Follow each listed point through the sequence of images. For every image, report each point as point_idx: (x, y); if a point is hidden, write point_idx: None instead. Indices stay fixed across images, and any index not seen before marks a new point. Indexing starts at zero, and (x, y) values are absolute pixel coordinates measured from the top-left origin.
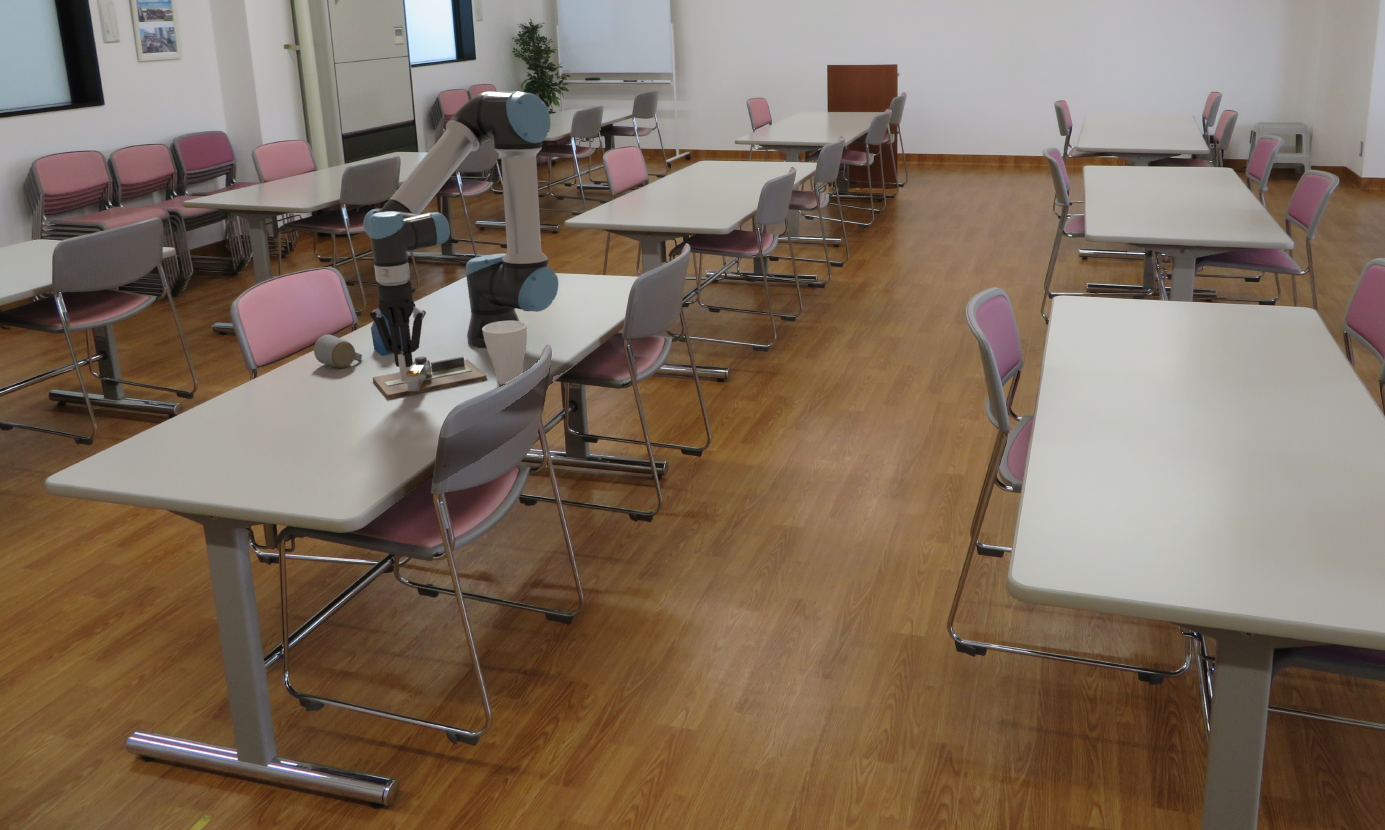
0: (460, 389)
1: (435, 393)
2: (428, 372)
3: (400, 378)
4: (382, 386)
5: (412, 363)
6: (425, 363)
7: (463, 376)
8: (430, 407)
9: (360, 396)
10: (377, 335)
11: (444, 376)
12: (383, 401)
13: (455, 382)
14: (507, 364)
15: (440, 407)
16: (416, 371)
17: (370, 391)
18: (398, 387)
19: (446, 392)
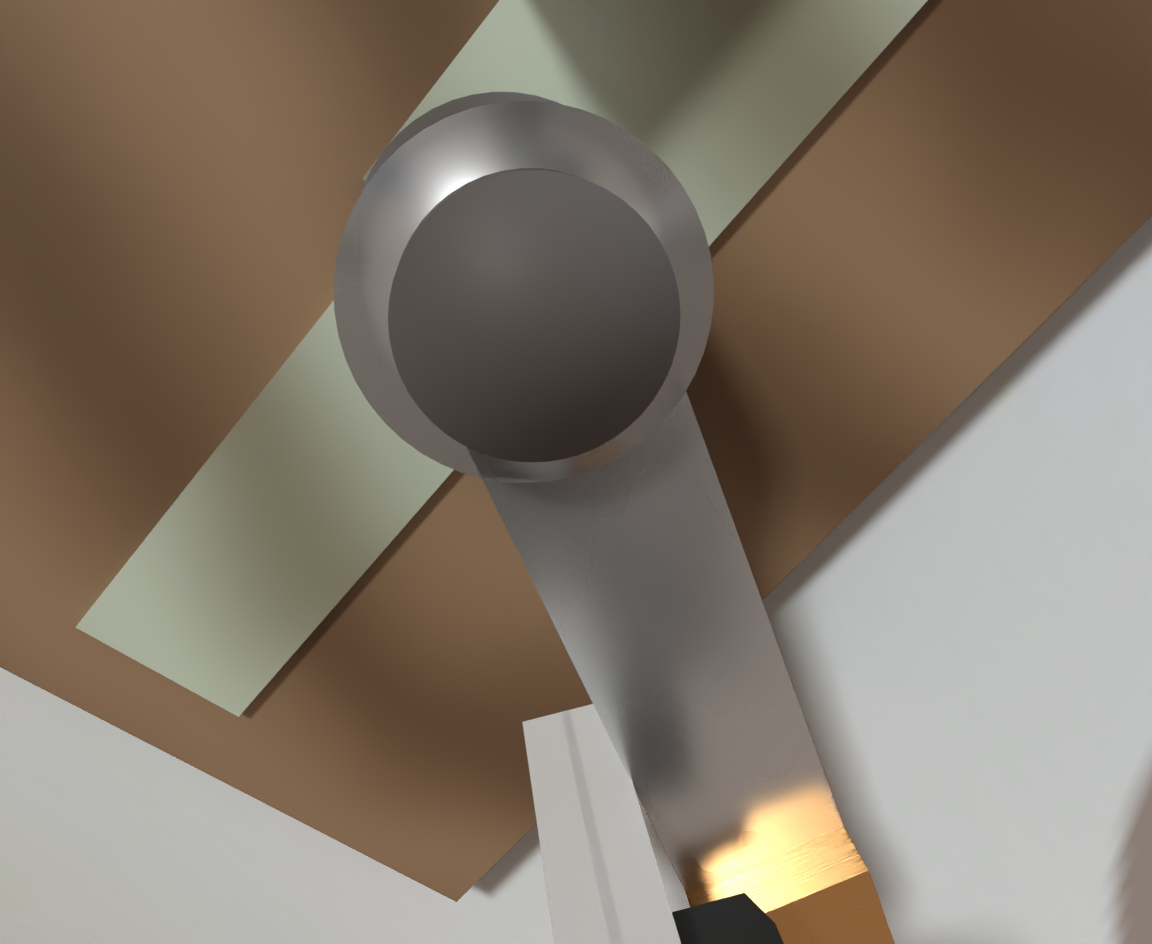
0: (1138, 384)
1: (891, 581)
2: None
3: (165, 396)
4: (173, 731)
5: (778, 938)
6: (689, 376)
7: (1130, 28)
8: (1000, 874)
9: (81, 903)
10: None
11: (826, 111)
12: (456, 916)
13: (1070, 286)
14: None
15: (1090, 846)
16: (861, 914)
17: (53, 762)
18: (418, 695)
19: (1005, 518)
